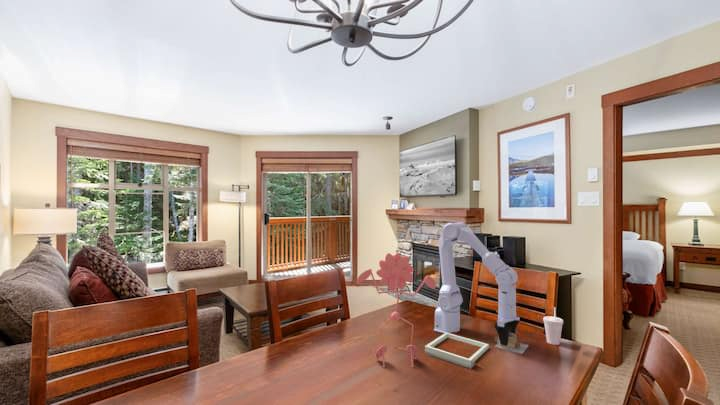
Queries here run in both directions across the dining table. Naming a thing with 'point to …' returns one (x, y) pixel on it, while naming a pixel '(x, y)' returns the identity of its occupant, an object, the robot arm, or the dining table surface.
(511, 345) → the collar
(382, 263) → the figurine
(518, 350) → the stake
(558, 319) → the smoothie
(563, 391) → the dining table surface
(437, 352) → the tray
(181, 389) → the dining table surface
